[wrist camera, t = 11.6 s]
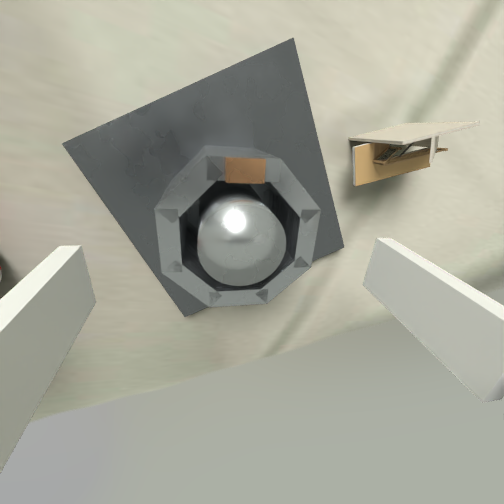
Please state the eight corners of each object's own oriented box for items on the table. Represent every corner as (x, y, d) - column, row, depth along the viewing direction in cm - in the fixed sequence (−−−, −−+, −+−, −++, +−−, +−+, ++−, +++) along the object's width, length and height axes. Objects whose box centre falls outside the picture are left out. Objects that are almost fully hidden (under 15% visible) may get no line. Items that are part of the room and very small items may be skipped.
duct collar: (176, 254, 23) (164, 316, 16) (167, 143, 19) (145, 154, 12) (276, 252, 25) (307, 306, 18) (286, 149, 21) (334, 162, 14)
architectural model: (402, 160, 25) (473, 173, 19) (335, 178, 25) (383, 196, 18) (404, 122, 24) (482, 120, 17) (333, 140, 23) (385, 146, 17)
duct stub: (69, 142, 19) (-47, 156, 10) (288, 42, 19) (366, -34, 10) (185, 309, 28) (177, 398, 19) (338, 242, 27) (405, 299, 18)
